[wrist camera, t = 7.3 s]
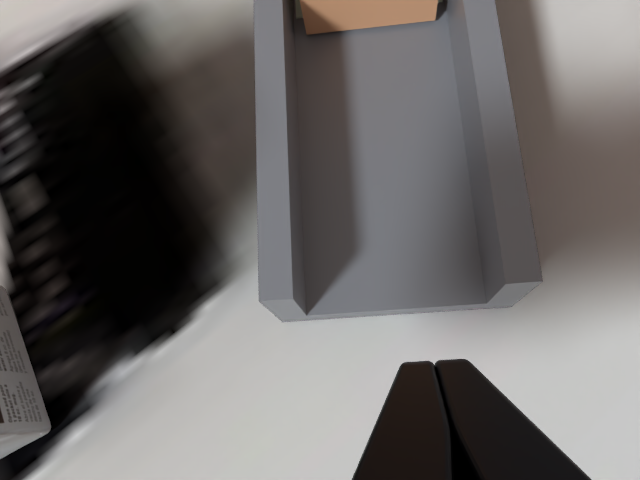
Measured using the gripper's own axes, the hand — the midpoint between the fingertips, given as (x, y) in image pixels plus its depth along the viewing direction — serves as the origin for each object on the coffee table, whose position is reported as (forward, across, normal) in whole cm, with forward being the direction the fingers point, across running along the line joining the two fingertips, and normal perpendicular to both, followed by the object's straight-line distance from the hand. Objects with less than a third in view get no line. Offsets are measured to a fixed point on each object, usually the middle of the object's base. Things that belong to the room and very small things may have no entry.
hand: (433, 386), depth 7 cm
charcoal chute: (+16, 0, +1) cm, 16 cm away
